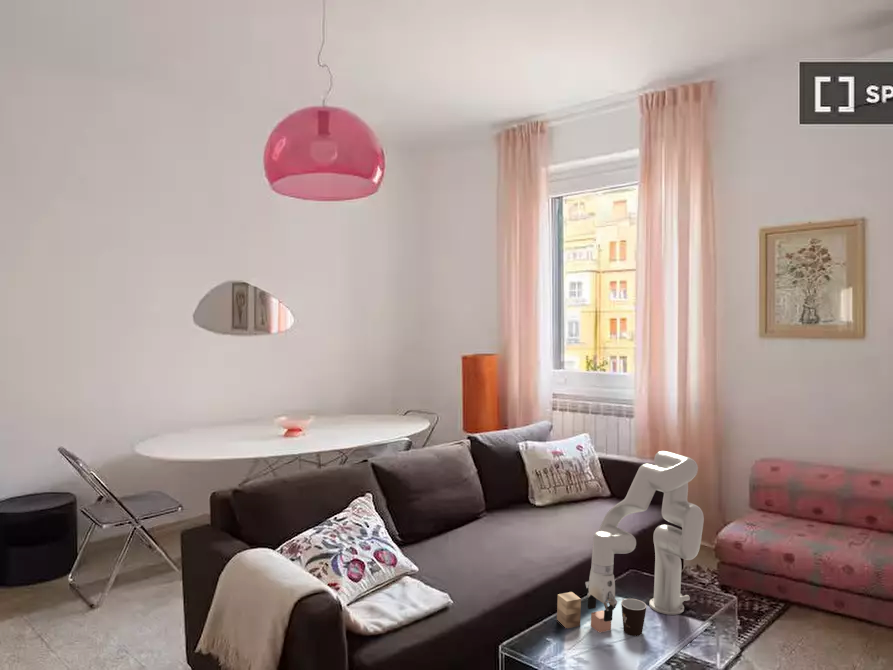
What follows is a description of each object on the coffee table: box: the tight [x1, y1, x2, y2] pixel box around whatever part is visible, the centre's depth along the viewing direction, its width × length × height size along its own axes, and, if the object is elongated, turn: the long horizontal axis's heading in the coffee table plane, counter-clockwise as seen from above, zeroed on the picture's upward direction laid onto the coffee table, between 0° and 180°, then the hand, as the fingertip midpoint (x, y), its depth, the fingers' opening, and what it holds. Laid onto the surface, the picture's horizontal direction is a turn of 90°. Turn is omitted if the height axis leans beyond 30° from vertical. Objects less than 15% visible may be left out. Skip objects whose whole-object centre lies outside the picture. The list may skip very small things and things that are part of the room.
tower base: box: [556, 608, 581, 629], centre depth 242 cm, size 6×6×5 cm
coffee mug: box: [620, 598, 648, 637], centre depth 238 cm, size 12×9×10 cm
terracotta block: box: [590, 610, 612, 633], centre depth 239 cm, size 5×5×5 cm
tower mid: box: [556, 591, 582, 615], centre depth 241 cm, size 6×6×5 cm
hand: (599, 614), depth 238 cm, fingers open, 9 cm apart
